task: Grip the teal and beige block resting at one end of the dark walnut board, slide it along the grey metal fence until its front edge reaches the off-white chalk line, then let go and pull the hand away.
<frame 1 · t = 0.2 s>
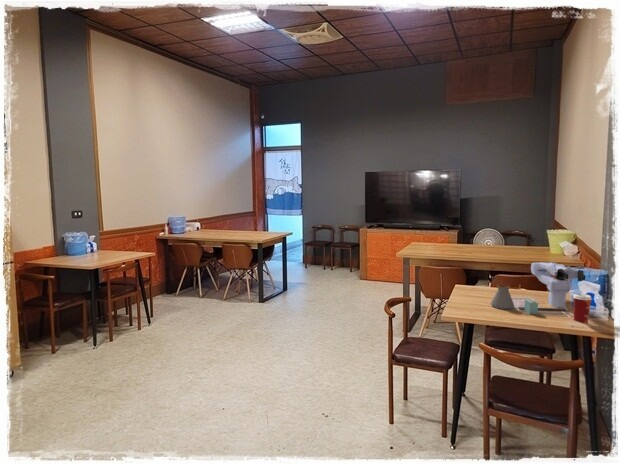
hand: (575, 277, 212), 21 cm above the table, tool horizontal, fingers open, 7 cm apart
teal and beige block: (530, 312, 222), point 1 cm above the table, touching board
paper cup: (580, 323, 209), on the table
board: (545, 315, 221), on the table
coffee pot: (498, 307, 237), on the table
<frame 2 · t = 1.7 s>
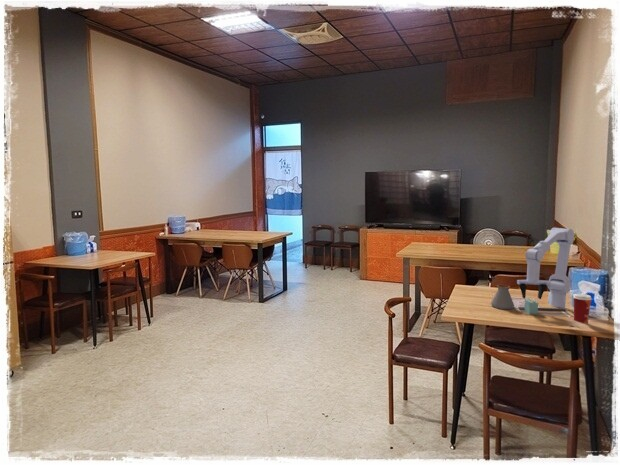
hand: (531, 298, 221), 9 cm above the table, tool pointing down, fingers open, 7 cm apart
nothing on the table moved.
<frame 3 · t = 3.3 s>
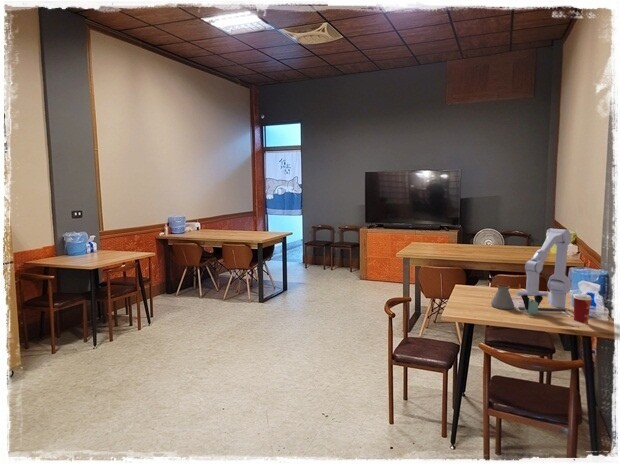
hand: (531, 309, 222), 3 cm above the table, tool pointing down, fingers closed on teal and beige block, 4 cm apart
teal and beige block: (530, 312, 222), point 1 cm above the table, touching board, gripper
everything else where it was.
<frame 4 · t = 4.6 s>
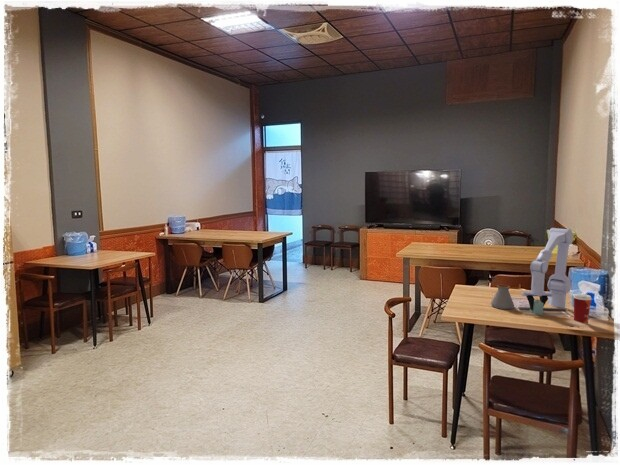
hand: (536, 309, 221), 3 cm above the table, tool pointing down, fingers closed on teal and beige block, 4 cm apart
teal and beige block: (536, 312, 221), point 2 cm above the table, touching gripper
everything else where it was.
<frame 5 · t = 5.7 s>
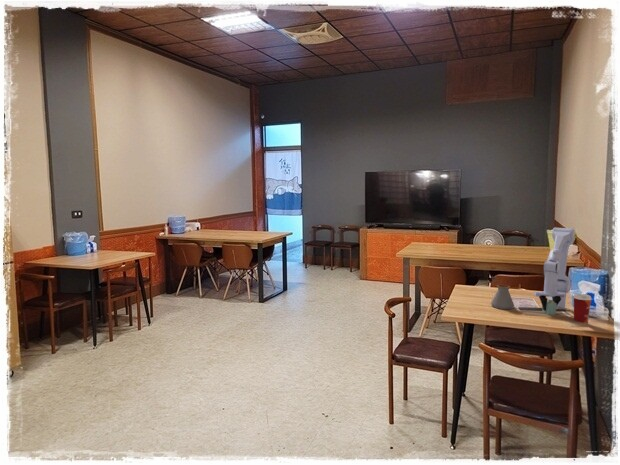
hand: (549, 310, 221), 3 cm above the table, tool pointing down, fingers closed on teal and beige block, 4 cm apart
teal and beige block: (548, 312, 221), point 2 cm above the table, touching gripper
everything else where it was.
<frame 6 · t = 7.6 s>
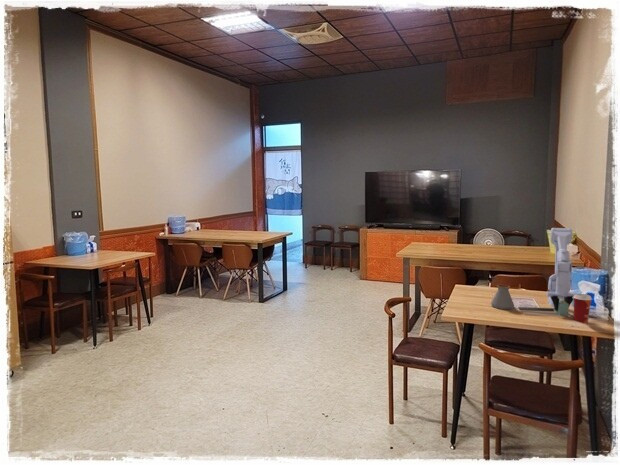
hand: (560, 310, 220), 3 cm above the table, tool pointing down, fingers closed on teal and beige block, 4 cm apart
teal and beige block: (560, 313, 220), point 2 cm above the table, touching gripper
everything else where it was.
when the fingers open (3 cm above the table, at t = 8.5 s): teal and beige block stays where it is, resting on board.
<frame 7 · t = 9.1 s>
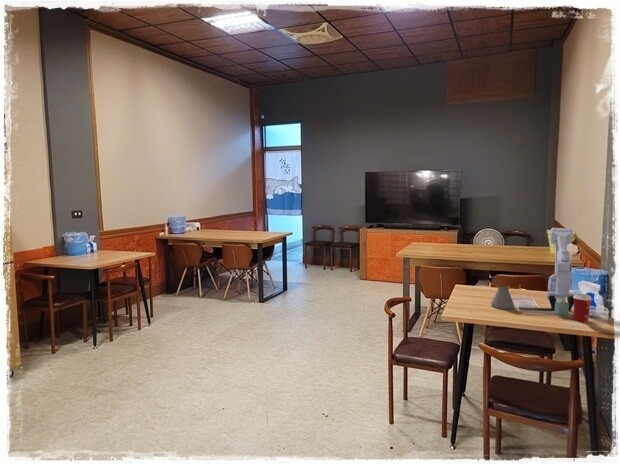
hand: (560, 310, 220), 3 cm above the table, tool pointing down, fingers open, 7 cm apart
teal and beige block: (560, 313, 220), point 2 cm above the table, touching board
everything else where it was.
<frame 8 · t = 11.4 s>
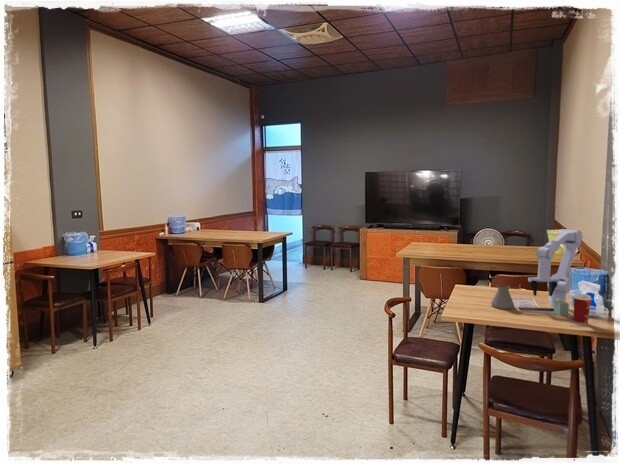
hand: (542, 295, 224), 9 cm above the table, tool pointing down, fingers open, 7 cm apart
nothing on the table moved.
at the end: teal and beige block 0.3 cm from the target spot on the board, point 1.5 cm above the board's base; teal and beige block tilted 0°; the gripper is holding nothing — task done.
